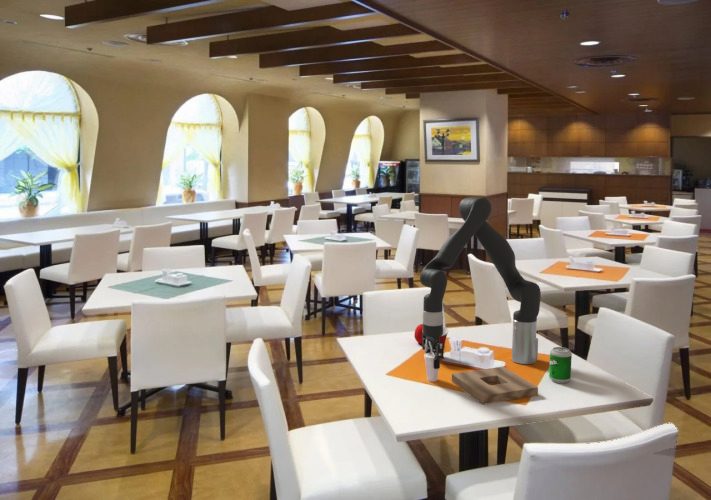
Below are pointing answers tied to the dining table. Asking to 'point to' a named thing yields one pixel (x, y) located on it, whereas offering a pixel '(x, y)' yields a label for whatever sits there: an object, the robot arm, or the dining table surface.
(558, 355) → the soda can
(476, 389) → the socket board
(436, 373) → the smoothie
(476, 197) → the robot arm
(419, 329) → the fruit
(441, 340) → the plastic cup
